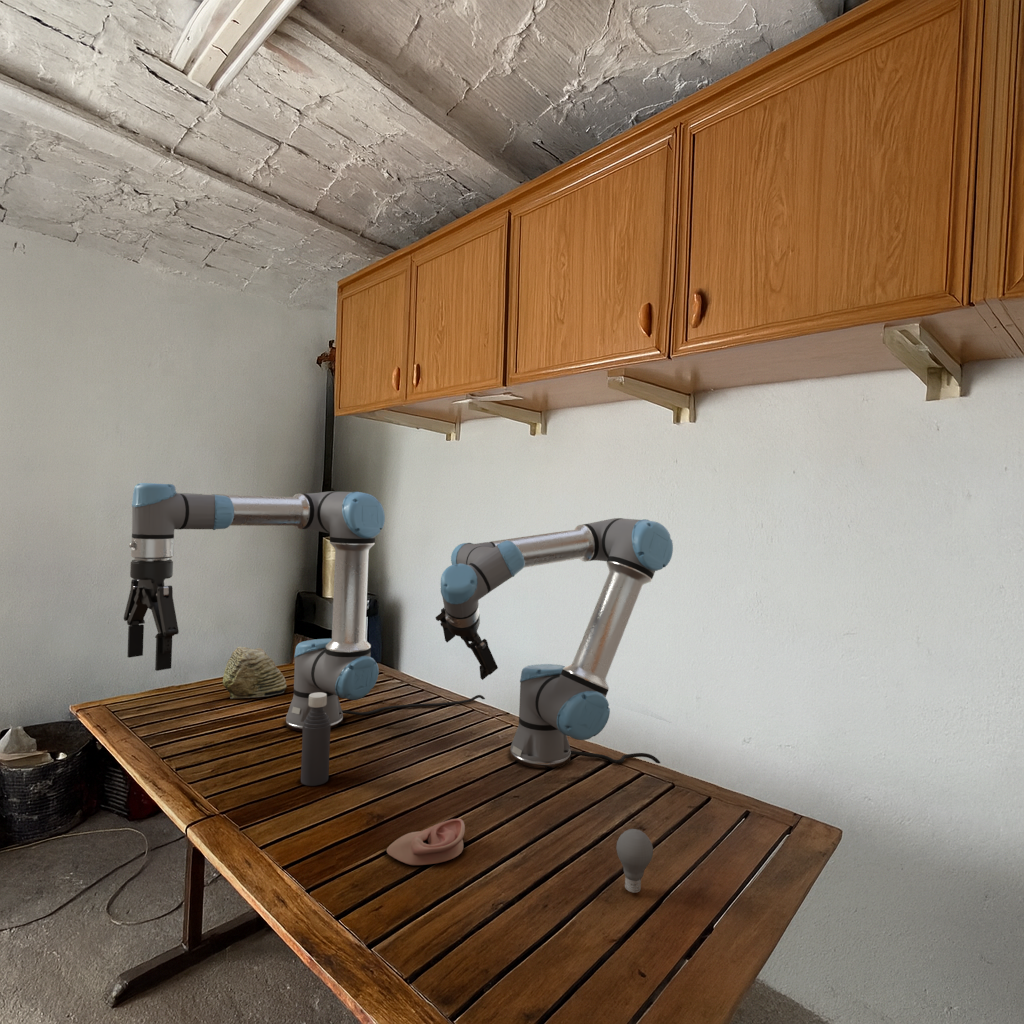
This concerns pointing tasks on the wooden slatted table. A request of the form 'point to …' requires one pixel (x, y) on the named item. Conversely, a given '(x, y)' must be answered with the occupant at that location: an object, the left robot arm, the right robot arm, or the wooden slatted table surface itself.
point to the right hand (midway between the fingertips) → (467, 656)
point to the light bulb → (634, 857)
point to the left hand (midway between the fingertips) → (148, 662)
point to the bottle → (315, 748)
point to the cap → (317, 699)
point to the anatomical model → (430, 844)
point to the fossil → (252, 674)
